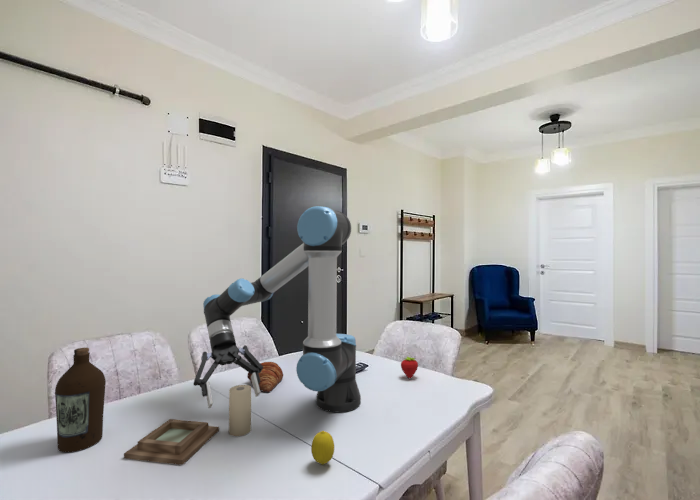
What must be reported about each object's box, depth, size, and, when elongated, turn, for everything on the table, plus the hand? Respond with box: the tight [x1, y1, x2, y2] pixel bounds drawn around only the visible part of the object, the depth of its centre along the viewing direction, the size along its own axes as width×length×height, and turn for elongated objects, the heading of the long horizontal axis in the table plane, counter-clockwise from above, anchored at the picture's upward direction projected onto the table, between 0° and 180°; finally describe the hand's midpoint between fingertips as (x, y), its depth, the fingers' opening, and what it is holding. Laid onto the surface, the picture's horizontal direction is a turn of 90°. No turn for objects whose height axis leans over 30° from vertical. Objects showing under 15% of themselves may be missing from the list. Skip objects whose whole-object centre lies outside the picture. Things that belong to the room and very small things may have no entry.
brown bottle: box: [54, 347, 107, 454], centre depth 91 cm, size 11×11×25 cm
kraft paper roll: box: [228, 384, 252, 438], centre depth 98 cm, size 6×6×12 cm
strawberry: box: [400, 354, 419, 379], centre depth 139 cm, size 6×8×10 cm
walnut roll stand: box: [123, 418, 220, 466], centre depth 91 cm, size 16×16×3 cm
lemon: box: [310, 430, 335, 465], centre depth 82 cm, size 6×6×8 cm
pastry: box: [246, 361, 284, 393], centre depth 134 cm, size 17×15×8 cm
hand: (235, 400), depth 99 cm, fingers open, 13 cm apart
